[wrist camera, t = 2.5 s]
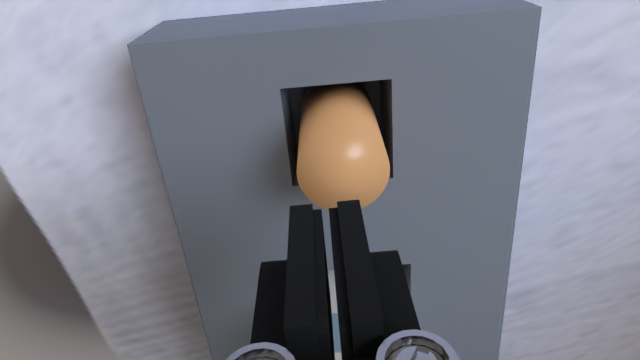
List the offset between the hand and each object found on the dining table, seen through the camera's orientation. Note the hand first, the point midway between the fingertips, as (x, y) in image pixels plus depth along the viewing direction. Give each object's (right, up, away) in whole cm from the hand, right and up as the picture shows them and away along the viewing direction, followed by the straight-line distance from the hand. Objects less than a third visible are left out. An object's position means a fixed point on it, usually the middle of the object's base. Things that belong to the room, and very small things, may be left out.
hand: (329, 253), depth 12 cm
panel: (+1, -3, +15) cm, 15 cm away
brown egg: (0, +5, +9) cm, 10 cm away
